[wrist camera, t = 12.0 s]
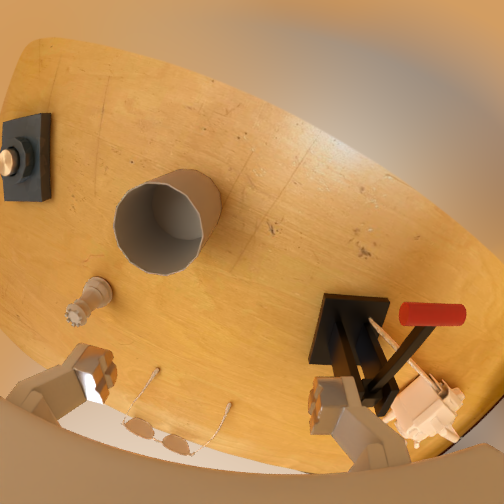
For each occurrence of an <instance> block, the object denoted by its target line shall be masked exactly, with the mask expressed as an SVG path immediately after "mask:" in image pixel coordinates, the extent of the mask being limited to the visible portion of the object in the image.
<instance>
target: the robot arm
mask: <svg viewBox="0 0 504 504" xmlns="http://www.w3.org/2000/svg"><path fill="white" fill-rule="evenodd" d="M113 358H114V357H113V354H112V352H111V351H110V350H106V349H102V348H99V347H95V346H91V345H87V344H84V343H79V344H78V345H77V346H76V347H75V348H74V350H73V351H72V352H71V354H70V355H69V356H68V357H67V359H66V360H65V361H64V363H63V364H62V365H57V366H54V367H52V368H50V369H48V370H45V371H43V372H41V373H38V374H36V375H34V376H32V377H29V378H27V379H25V380H22V381H20V382H18V383H17V385H16V386H15V387H14V389H13V390H12V391H11V393H10V394H9V395H8V396H7V398H6V399H4V398H2V397H1V396H0V504H504V454H503V453H502V452H500V451H499V450H497V449H496V448H494V447H493V446H491V445H489V444H486V443H483V444H478V445H475V446H472V447H469V448H466V449H462V450H459V451H456V452H453V453H449V454H446V455H442V456H438V457H434V458H430V459H426V460H422V461H417V462H413V463H411V459H410V456H409V453H408V450H407V446H406V443H405V440H404V438H403V437H401V436H400V435H399V434H398V433H396V432H395V431H394V430H393V429H392V428H390V427H389V426H388V425H387V424H386V423H384V422H383V421H382V420H381V419H380V418H379V417H377V416H376V415H375V414H374V413H373V412H371V411H370V410H369V409H368V408H367V407H366V406H362V405H361V401H360V397H359V394H358V390H357V387H356V383H355V380H354V378H353V377H352V376H348V377H315V378H314V381H313V389H312V390H311V391H310V394H309V399H308V413H309V414H310V415H311V418H310V421H309V424H310V433H311V435H331V436H332V437H333V438H334V439H335V441H336V442H337V443H338V444H339V445H340V447H341V448H342V449H343V450H344V451H345V453H346V454H347V455H348V456H349V458H350V459H351V460H352V461H353V462H354V465H353V466H352V467H351V469H350V470H349V471H348V472H343V473H329V474H291V475H290V474H260V473H246V472H235V471H225V470H218V469H210V468H203V467H197V466H191V465H185V464H180V463H175V462H170V461H166V460H161V459H157V458H152V457H148V456H144V455H140V454H137V453H133V452H130V451H126V450H122V449H119V448H116V447H113V446H110V445H107V444H104V443H101V442H98V441H95V440H92V439H89V438H87V437H84V436H82V435H79V434H76V433H74V432H71V431H69V430H66V429H64V428H62V427H61V426H60V424H59V423H58V421H57V420H59V419H60V418H62V417H63V416H64V415H66V414H68V413H69V412H71V411H72V410H73V409H75V408H76V407H78V406H79V405H81V404H82V403H84V402H85V401H86V399H87V400H90V401H93V402H97V403H100V404H104V403H105V401H106V399H107V397H108V395H109V390H108V389H109V388H111V387H113V386H114V384H115V382H116V379H117V368H116V365H115V364H114V363H113V362H112V360H113Z"/></svg>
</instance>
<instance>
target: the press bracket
mask: <svg viewBox="0 0 504 504" xmlns="http://www.w3.org/2000/svg"><path fill="white" fill-rule="evenodd" d="M389 305H390V301H389V300H388V298H378V297H364V296H350V295H337V294H325V293H324V296H323V300H322V305H321V309H320V313H319V318H318V322H317V326H316V330H315V334H314V338H313V342H312V346H311V350H310V354H309V358H308V361H309V364H318V365H332V367H333V372H334V376H335V377H348V376H352V377H353V378H354V380H355V383H356V387H357V390H358V394H359V397H360V401H361V399H362V397H363V395H364V393H365V391H364V388H363V384H362V381H361V378H360V375H359V371H358V368H357V365H361V367H362V370H363V373H364V376H365V379H373V378H374V377H375V376H376V375H377V373H378V372H379V371H380V370H381V369H382V368H383V366H384V365H385V364H386V363H387V359H386V357H385V355H384V353H383V350H382V348H381V346H380V344H379V341H378V336H379V334H380V333H378V332H377V330H376V329H375V328H374V326H372V324H371V323H370V321H369V319H368V318H370V317H371V319H373V321H374V322H376V323H377V324H378V325H379V326H380V327H381V328H382V325H383V322H384V320H385V317H386V314H387V311H388V308H389ZM398 392H399V388H398V385H397V383H396V380H395V378H394V376H393V377H392V378H391V379H390V380H389V381H388V382H387V383H386V384H385V385H384V386H383V387H382V394H383V398H382V399H381V400H380V401H379V402H378V403H377V404H376V405H375V406H374V408H375V412H376V415H377V417H382V416H385V415H386V413H387V412H388V410H389V408H390V406H391V405H392V403H393V401H394V399H395V398H396V396H397V394H398Z"/></svg>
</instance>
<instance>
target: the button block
mask: <svg viewBox="0 0 504 504" xmlns="http://www.w3.org/2000/svg"><path fill="white" fill-rule="evenodd" d="M50 123H51V113H40V114H35V115H31V116H26V117H22V118H18V119H14V120H10V121H6V122H3V132H2V147H1V150H0V153H1V152H2V151H3V150H5V149H11V148H15V149H17V150H18V152H19V155H20V167H19V170H18V171H17V172H16V173H15V174H12V175H9V176H3V175H1V176H2V179H3V187H4V200H5V201H31V202H42V201H45V200H48V199H50V198H51V188H50ZM0 174H1V173H0Z"/></svg>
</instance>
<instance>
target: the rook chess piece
mask: <svg viewBox="0 0 504 504" xmlns="http://www.w3.org/2000/svg"><path fill="white" fill-rule="evenodd" d="M111 300H112V290H111V287H110V285H109V284H108V282H106V281H105V280H104V279H102V278H100V277H92V278H90V279H89V280H88V282H86V284H85V286H84V290H83V294H82V296H81V297H80V298H79V299H77V300H75V301H74V304H69V305H68V306H67V311H66V313H65V317H67V316H68V319H67V321H68V323H69V322H70V321H71V322H72V325H71V326H74V327H75V326H77V327H79V326H80V325H81V326H82V325H85V324H86V322H87V318H88V317H89V316H90V315H91V312H92V311H93V310H95V309H96V308H102V307H104V306H106V305H107V304H108V303H109V302H110V301H111Z"/></svg>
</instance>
